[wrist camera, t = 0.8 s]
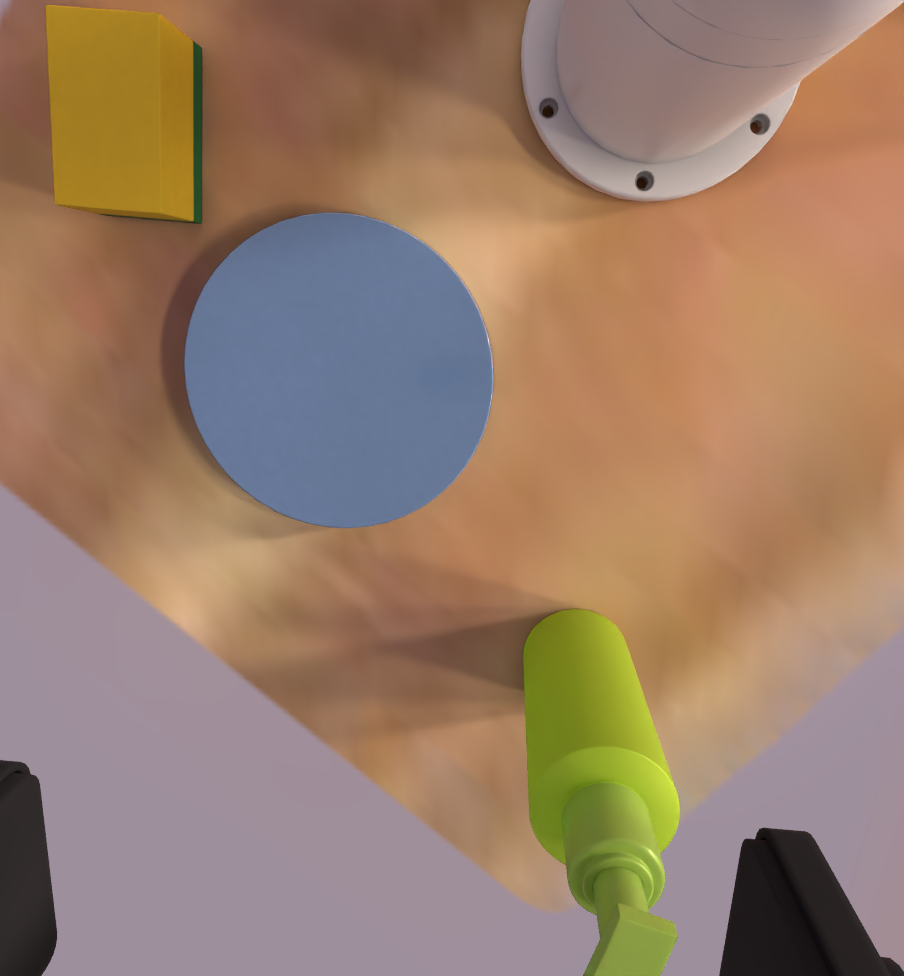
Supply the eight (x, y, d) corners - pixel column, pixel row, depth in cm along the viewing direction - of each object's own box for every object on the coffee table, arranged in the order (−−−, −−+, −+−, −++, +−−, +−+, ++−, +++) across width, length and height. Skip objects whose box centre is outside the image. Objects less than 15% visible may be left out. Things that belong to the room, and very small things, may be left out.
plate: (192, 202, 37) (182, 198, 36) (509, 229, 36) (509, 226, 35) (193, 506, 41) (184, 512, 40) (478, 536, 40) (477, 543, 39)
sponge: (101, 40, 35) (44, 4, 31) (202, 47, 35) (159, 12, 31) (106, 215, 38) (54, 204, 33) (202, 223, 37) (161, 214, 33)
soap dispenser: (502, 698, 43) (496, 1029, 23) (544, 594, 41) (577, 859, 21) (597, 731, 43) (670, 1089, 23) (644, 629, 41) (765, 924, 22)
